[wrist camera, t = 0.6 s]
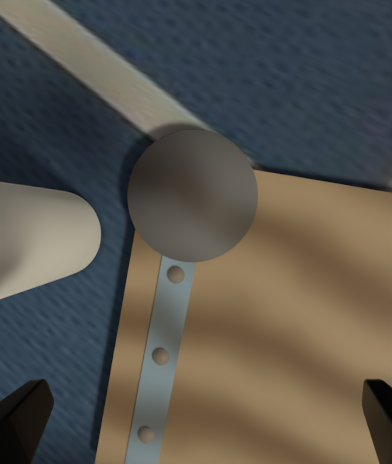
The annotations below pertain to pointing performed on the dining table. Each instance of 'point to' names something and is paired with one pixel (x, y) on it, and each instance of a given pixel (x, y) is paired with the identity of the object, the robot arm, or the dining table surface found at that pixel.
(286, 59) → the dining table surface
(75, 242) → the can
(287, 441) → the subfloor panel
